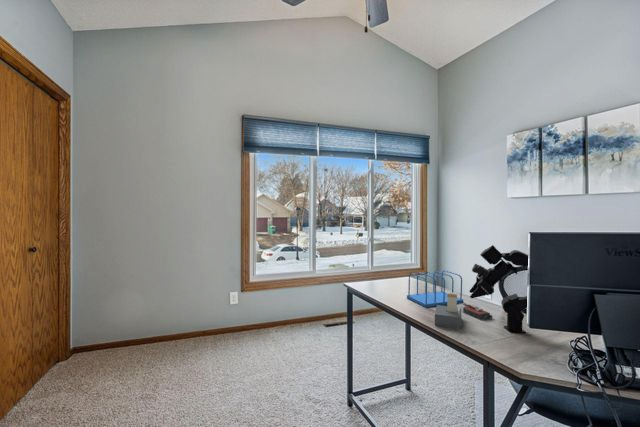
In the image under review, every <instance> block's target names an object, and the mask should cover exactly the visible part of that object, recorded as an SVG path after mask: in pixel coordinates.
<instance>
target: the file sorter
mask: <svg viewBox="0 0 640 427" xmlns="http://www.w3.org/2000/svg"><path fill="white" fill-rule="evenodd" d="M445 272H446V273H445ZM437 273H438V274H437ZM447 273H449V274H447ZM429 274H432V275H433V276H432V275H429ZM439 274H440V275H439ZM450 274H451V275H450ZM411 275H413V276H416V293H414V294H411V293H410V290H411V289H410V287H411V282H410V281H411ZM421 275H423V276H424V277H423V276H421ZM452 275H455V276H459V278H460V296H459V297H458V296H457V304H461V303H462V304H464V299H463V298H462V297H463V294H462V293H463V277H462V275H461V274H458V273H456V272H452V271H448V270H442V272H440V271H437V270H435V271H434V272H430V271H427V272H426V273H424V272H418V273H417V274H415V273H413V272H410V273H409V274H408V290H407V291H408V294H407V295H406V298H407V299H408V300H410V301H412V302H414V303H416V304H419V305H421V306H422V307H424V308H429V307H436V306H437V305H441V306H447V292H445V291H446V281H445V279H446V278H444V276H448V277H450V278H451V280H452V282H451V285H452V286H451V293H454V283H455V282H454V278H453V276H452ZM435 276H437V277H440V278H441V282H440V283H441V288H440V289H441V290H440V291H437V280H436V277H435ZM427 277H430V278H432V279H433V281H432V282H433V286H432V289H433V290H432V292H428V280H427ZM419 278H421V279H424V281H425V282H424V283H425V284H424V285H425V286H424V293H423V292H422V293H419Z"/></svg>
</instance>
